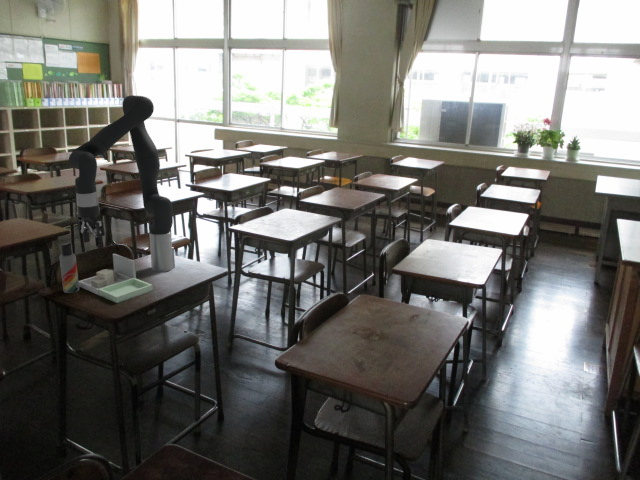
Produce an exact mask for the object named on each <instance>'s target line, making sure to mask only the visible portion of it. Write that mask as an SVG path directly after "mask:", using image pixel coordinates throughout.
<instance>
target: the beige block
mask: <svg viewBox="0 0 640 480" xmlns="http://www.w3.org/2000/svg"><path fill="white" fill-rule="evenodd" d="M95 274H96V276H97V279H98V278H102V279H105V280H107V286H109V285H112V284H114V276H113V271H111V270H110V269H106V268H105V269H101V270H99V271H96V272H95Z"/></svg>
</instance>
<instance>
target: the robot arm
mask: <svg viewBox="0 0 640 480" xmlns="http://www.w3.org/2000/svg"><path fill="white" fill-rule="evenodd" d="M121 107H122V112H123V115H122V116H120V118H118V119H116V120H115V121H113V122H111V123H109V124H108V125H106V126H104V127H103V128H101V129H100V130H99V131H97V133H96V134H94V135H93V136H92V137H91V138H90V139H89V140H88V141H87V142H85V143H83V144H81V145H80V146H78V147H77V148H75V149H74V150H72V151H71V153H70V154H69V156H68V163H69V166H71V168H73V169H76V170H78V176H77V177H76V178H75V180H74V184H75V186H74V187H75V193H76V197H75V200H76V205H77V214H78V216H76V220H77V229H78V231H79V232H80V233H81V234H82V241H83V243H85V244H86V243H89V242H90V241H91V239H90V233H89V231H90V232H91V233H92V234H93V236H94V241H95V247H97V248H98V247H99V248H100V247H102V246H103V239H102V238H103V237H104V236H106V233H105V226H104V220H98V217H99V216H100V213H101V212H100V203H99V196H98V192H97V183H96V178H97V172H98V171H97V170H98V162H97V159H96V157H98V156H103V155H105V154H106V153H108V151H109V150H110V149H111V148H112V147H113V146H115V144H116V143H118V141H120V140H121V139H122V138H123V137H124V136H125V135H127V134H128V133H129V136H130V140H131V144H132V148H133V153H134V158H135V159H134V160H135V163H136V167H137V170H138V175H139V181H140V187H141V194H142V195H141V196H142V204H143V209H144V211H145V213H146V214H148V215H150V216H152V217H153V221H154V222H153V224H150V225H149V226H148V232H149V234H148V235H149V250H150V261H151V262H150V263H151V269H152V271H153V272H159V273H160V272H161V273H165V272H170V271H172V270H173V269H174V268H176V263H175V262H176V260H175V259H176V258H175V247H174V246H173V243H172V241H173V239H172V227H173V218H174V217H173V216H174V215H173V213H174V209H173V203H172V201H171V199H170V198H168V197H165V196H162V195H160V193H159V189H158V184H157V183H158V182H157V181H158V176H159V173H160V169H161V164H160V162H161V161H160V157H159V152H158V149H157V146H156V144H155V143H154V141H153V140H152V138H151V136H150V134H149V133H148V131H147V128H146V125H145V121H146V120H148V119H149V118H150V117H151V116H152V115H153V113H154V110H155V106H154V103H153V102H152V99H150V98H148V97H147V96H143V95H135V94H134V95H127V96H126V97H125V98H124V99H123V101H122V106H121Z"/></svg>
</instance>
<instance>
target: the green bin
mask: <svg viewBox="0 0 640 480" xmlns="http://www.w3.org/2000/svg"><path fill="white" fill-rule="evenodd" d="M98 291H99V295H98V296H99V297H102V298H104V299H106V300H109V301H111V302H113V303H115V304H119V303H122V302H126V301H129V300H132V299H134V298H137V297H140V296H142V295H145V294H147V293H152V292H153V291H154V287H153V284H151V283H149V282H146V281H143V280H141V279H139V278H137V277H136V278H132V279H129V280H126V281H122V282H119V283H116V284H113V285H110V286H107V287H104V288H101V289H98Z"/></svg>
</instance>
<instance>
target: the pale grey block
mask: <svg viewBox="0 0 640 480" xmlns="http://www.w3.org/2000/svg"><path fill="white" fill-rule="evenodd" d="M91 284H92V286H94V287H96V288H98V289H99V288H102V287H105V286H107V280H105V279H102V278H98V279H95V280H92V281H91Z"/></svg>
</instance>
